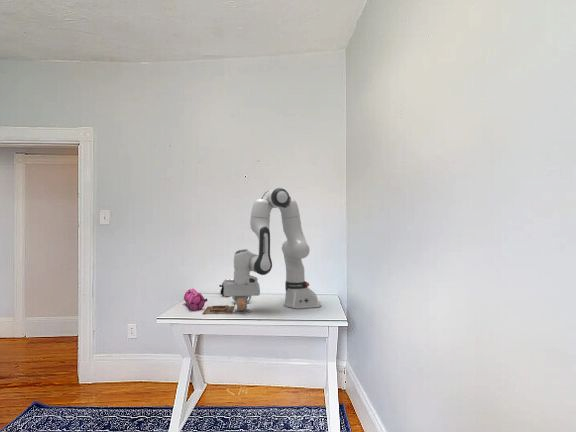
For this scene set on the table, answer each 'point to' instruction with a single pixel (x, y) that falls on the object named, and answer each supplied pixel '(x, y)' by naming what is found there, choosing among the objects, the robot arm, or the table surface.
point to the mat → (241, 311)
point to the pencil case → (194, 299)
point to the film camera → (222, 290)
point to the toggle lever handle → (241, 303)
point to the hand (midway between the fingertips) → (241, 303)
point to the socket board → (219, 309)
